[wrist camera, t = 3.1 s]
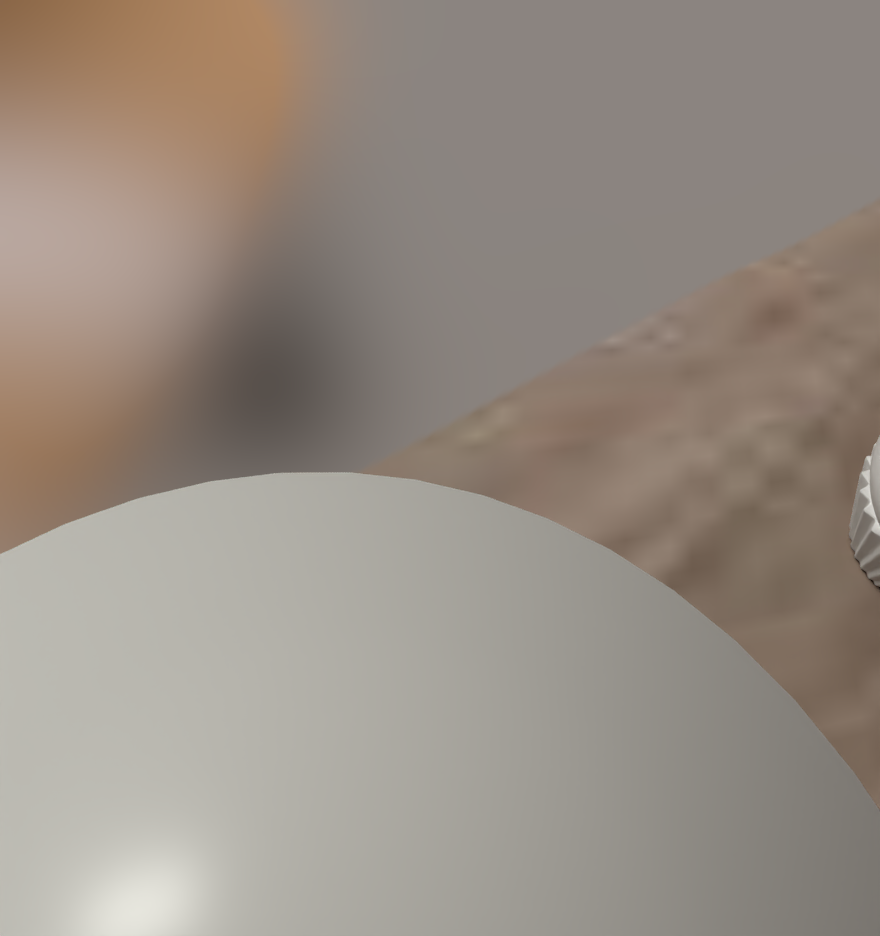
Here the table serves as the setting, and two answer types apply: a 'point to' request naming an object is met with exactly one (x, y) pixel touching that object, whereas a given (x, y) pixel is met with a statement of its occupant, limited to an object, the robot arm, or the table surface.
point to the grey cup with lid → (397, 732)
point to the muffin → (868, 517)
